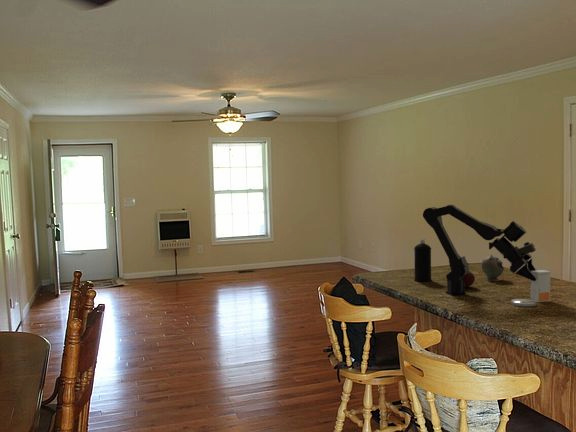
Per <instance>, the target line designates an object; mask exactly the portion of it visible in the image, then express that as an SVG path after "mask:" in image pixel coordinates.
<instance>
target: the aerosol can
mask: <svg viewBox="0 0 576 432" xmlns="http://www.w3.org/2000/svg"><path fill="white" fill-rule="evenodd" d="M419 242H420V243H419V244H416V245H415V247H414V248H413V249H414V250H413V251H414V281H415V282H417V283H418V282H419V283H429V282H432V281H433V280H432V247H431V246H430V245H429V244H426V241H425V239H423V238H422V239H421V238H420V241H419Z"/></svg>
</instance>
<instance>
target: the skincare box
mask: <svg viewBox="0 0 576 432" xmlns="http://www.w3.org/2000/svg"><path fill="white" fill-rule="evenodd" d="M531 273H532V274H533V275H534V277H535V278H536V281H532V280H530V300H533V301H535V302H536V303H545V302H550V301H551V273H552V272H551V271H550V270H545V269H539V270H538V269H536V271H531Z"/></svg>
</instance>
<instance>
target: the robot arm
mask: <svg viewBox="0 0 576 432" xmlns="http://www.w3.org/2000/svg"><path fill="white" fill-rule="evenodd" d="M447 215H449V216H451V217H453V218H454V219H456V220H458V221H460V222H461V223H463V224H464V225H466V226H468V227H469V228H471V229H472V230H474V231H475V232H476V233H477V235H479V236H480V237H481V238H482V239H484V240H485V241H491V242H488V249H489V250H492V249H493V248H495V249H496V250H497V251H498V252H499V253H500V254H501V255H502V258H503V259H506V260H507V261H508V262H509V263H510V266H509V270H510V272H511V273H512V274H515V275H517V276H520V277H522V278H525V279H527V280H530V281H531V280H532V281H536V278H535V277H534V275H533V274H532V273H531V271H536V270H537V269H536V267H535V266H534V264H533V256H532V255H531V254H532V253H534V252H536V250H537V249H536V248H535V244H534V243H533V242H529V241H526V242H524V244H523V246H522V247H518V246H516V245H513V244H512V243H513V242H514V243H516V242H518V241H519V240H520V239H521V238H522V237H523V236H524V235H525V234H527V230H526V229H525V228H524V227H523V226H521V224H519V223H517V222H515V220H513V221H511V222H510V223H509V225H508V226H507V227H506V228H504V229H503V228H498V227H496V226H495V225H493V224H490V223H488V222H485V221H481V220H479V219H477V218H476V217H473V216H472V215H470V214H469V213H468V212H465V211H463V210H462V209H460V208H459V207H457V206H455V204H448V205H445V206H442V207H435V206H432V207H427V208H425V209H424V211H423V212H422V217H423V219H424V221H425V222H426V223H427V224H428V225H429V226H430V227H431V228H432V230H433V231H434V233H435V234H436V235H435V236H437V239H438V240H439V243H440V244H441V247H442V249H443V250H444V253H445V254H446V256H447V258H448V263H449V268H450V272H449V273H447V274H446V275H445V277H446V290H445V293H446V294H448V295H451V296H459V295H466V294H467V292H465V291H466V290H465V289H466V287H465V283H464V279H462V278H463V277H464V275H465V274H466V273H467V272H468V271H470V269H469V268H470V267H469V265H470V264H469V262H468V261H467V258H466V256H465V255H463V256H461V255H460V254H459V253H458V251H457V249H456V248H455V246H454V243H453V242H452V240H451V238H450V236H449V234H448V232H447V230H446V228H445V226H444V223H443V217H444V216H447ZM442 216H443V217H442ZM502 235H503V236H502ZM499 237H500V238H499ZM530 253H531V254H530Z"/></svg>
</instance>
